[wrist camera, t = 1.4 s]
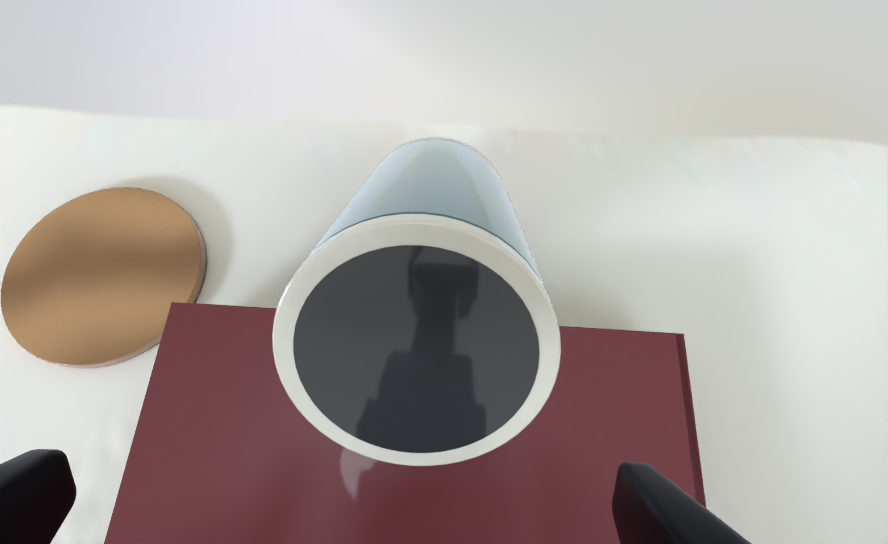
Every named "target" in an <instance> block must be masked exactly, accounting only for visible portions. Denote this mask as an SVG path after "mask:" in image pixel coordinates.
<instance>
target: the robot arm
mask: <svg viewBox="0 0 888 544" xmlns="http://www.w3.org/2000/svg"><path fill="white" fill-rule="evenodd" d="M75 498H76V486H75V483H74V479H73V476H72V472H71V469H70V466H69V462H68V459H67V456H66V455H65V454H64V453H63V452H62V451H60V450H47V449H37V450H31V451H28V452H26V453H24V454H22V455H20V456H17V457H15V458H13V459H11V460H9V461H6V462H4V463H2V464H0V544H50V543H51V541H52V539H53V538H54V536H55V534H56V533H57V531H58V529H59V528H60V526H61V524H62V523H63V521H64V519H65V518H66V516H67V515H68V513H69V511H70V510H71V508H72V506H73V504H74V501H75ZM612 513H613V518H614V521H615V525H616V529H617V533H618V537H619V540H620V544H751V543H750V542H748V541H747V540H746V539H745V538H743V537H742V536H741V535H739V534H738V533H737V532H736V531H734V530H733V529H732V528H730V527H729V526H728V525H727V524H725V523H724V522H723V521H722V520H720V519H719V518H718V517H716V516H715V515H714V514H713V513H711V512H710V511H709V510H707V509H706V508H705V507H704V506H702V505H701V504H700V503H698V502H697V501H696V500H695V499H693V498H692V497H691V496H689V495H688V494H687V493H686V492H684V491H683V490H682V489H680V488H679V487H678V486H677V485H675V484H674V483H673V482H671V481H670V480H669V479H668V478H666V477H665V476H664V475H662V474H661V473H660V472H659V471H657V470H656V469H655V468H654V467H652V466H651V465H649V464H648V463H645V462H623V463H621V464H620V466H619V468H618V472H617V477H616V482H615V487H614V492H613V497H612Z"/></svg>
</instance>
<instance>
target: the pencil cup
mask: <svg viewBox="0 0 888 544" xmlns="http://www.w3.org/2000/svg"><path fill="white" fill-rule="evenodd" d="M272 341H273V354H274V359H275V365H276V368H277V371H278V374H279V377H280V380H281V382H282V384H283V386H284V388H285V390H286V392H287V394H288V396H289V397H290V399H291V400H292V402H293V403H294V405H295V406H296V408H297V409H298V410H299V411H300V412H301V413H302V415H303V416H304V417H305V418H306V419H307V420H308V421H309V422H310V423H311V424H312V425H313V426H314V427H316V428H317V429H318V430H319V431H320V432H321V433H323V434H324V435H326V436H327V437H328V438H330V439H331V440H333V441H334V442H336V443H338V444H340V445H341V446H343V447H345V448H347V449H349V450H351V451H354V452H356V453H358V454H361V455H363V456H366V457H369V458H372V459H376V460H379V461H383V462H388V463H393V464H400V465H409V466H434V465H445V464H451V463H456V462H461V461H465V460H468V459H471V458H475V457H478V456H480V455H482V454H485V453H487V452H490V451H492V450H494V449H496V448H497V447H499V446H501V445H503V444H505V443H506V442H508V441H509V440H510V439H512V438H513V437H515V436H516V435H517V434H519V433H520V432H521V431H522V430H523V429H524V428H525V427H526V426H527V425H528V424H530V423H531V421H532V420H533V419H534V418H535V417H536V415H537V414H538V413H539V412H540V410H541V409H542V407H543V406H544V404H545V402H546V401H547V399H548V398H549V395H550V393H551V391H552V389H553V386H554V384H555V381H556V378H557V374H558V370H559V366H560V357H561V336H560V330H559V325H558V320H557V317H556V314H555V311H554V309H553V306H552V303H551V301H550V298H549V296H548V293H547V291H546V288H545V286H544V283H543V281H542V278H541V276H540V273H539V271H538V268H537V266H536V263H535V261H534V258H533V256H532V253H531V251H530V248H529V246H528V243H527V241H526V238H525V236H524V234H523V231H522V229H521V226H520V224H519V221H518V219H517V216H516V214H515V211H514V209H513V206H512V204H511V201H510V199H509V196H508V194H507V191H506V189H505V186H504V184H503V181H502V179H501V177H500V175H499V173H498V171H497V170H496V169H495V167H494V166H493V164H492V163H491V162H490V161H489V160H488V159H487V158H486V157H485V156H484V155H483V154H482V153H480V152H479V151H478V150H476V149H475V148H473V147H471V146H469V145H468V144H465V143H463V142H460V141H457V140H454V139H450V138H442V137H428V138H421V139H417V140H413V141H410V142H408V143H406V144H403V145H401V146H400V147H398V148H396V149H395V150H393V151H392V152H391V153H389V154H388V155H387V156H386V157H385V158H384V159H383V160H382V161H381V162H380V163H379V165H378V166H377V167H376V169H375V170H374V171H373V172H372V174H371V175H370V176H369V178H368V179H367V180H366V181H365V183H364V184H363V185H362V187H361V188H360V189H359V191H358V192H357V193H356V194H355V196H354V197H353V198H352V200H351V201H350V202H349V203H348V205H347V206H346V207H345V209H344V210H343V211H342V213H341V214H340V215H339V216H338V218H337V219H336V220H335V222H334V223H333V224H332V225H331V227H330V228H329V229H328V231H327V232H326V233H325V235H324V236H323V237H322V238H321V240H320V241H319V242H318V244H317V245H316V246H315V247H314V249H313V250H312V251H311V253H310V254H309V255H308V257H307V258H306V259H305V260H304V262H303V263H302V264H301V266H300V267H299V268H298V269H297V271H296V272H295V274H294V275H293V277H292V278H291V279H290V281H289V282H288V284H287V285H286V287H285V289H284V291H283V294H282V296H281V298H280V300H279V303H278V306H277V309H276V313H275V316H274V323H273V331H272Z"/></svg>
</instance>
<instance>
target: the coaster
mask: <svg viewBox="0 0 888 544" xmlns="http://www.w3.org/2000/svg"><path fill="white" fill-rule="evenodd" d="M205 268H206V252H205V245H204V241H203V238H202V235H201V233H200V231H199V229H198V227H197V225H196V223H195V222H194V221H193V219H192V218H191V217H190V216H189V215H188V214H187V213H186V212H185V211H184V210H183V209H182V208H181V207H180V206H179V205H178V204H176V203H175V202H174V201H172V200H171V199H169V198H167V197H165V196H163V195H161V194H158V193H155V192H153V191H149V190H144V189H139V188H128V187H126V188H111V189H103V190H99V191H95V192H91V193H88V194H85V195H83V196H80V197H77V198H75V199H73V200H71V201H69V202H67V203H65V204H63V205H62V206H60V207H58V208H56V209H55V210H54V211H52V212H51V213H49V214H48V215H47V216H45V217H44V218H43V219H42V220H41V221H39V222H38V223H37V224H36V225H35V226H34V227H33V228H32V229H31V230H30V231H29V232H28V233H27V234H26V236H25V237H24V238H23V240H22V241H21V242H20V244H19V245H18V246H17V248H16V250H15V251H14V253H13V255H12V256H11V259H10V261H9V263H8V265H7V268H6V271H5V274H4V277H3V282H2V288H1V307H2V314H3V317H4V320H5V323H6V326H7V327H8V329H9V331H10V333H11V335H12V336H13V337H14V338H15V340H16V341H17V342H18V343H19V344H20V345H21V346H22V347H23V348H24V349H25V350H27V351H28V352H29V353H31V354H33V355H34V356H36V357H38V358H40V359H43V360H45V361H48V362H51V363H55V364H59V365H64V366H68V367H77V368H94V367H102V366H107V365H112V364H115V363H119V362H122V361H125V360H128V359H130V358H132V357H135V356H137V355H139V354H141V353H143V352H145V351H146V350H148V349H150V348H151V347H153V346H154V345H156V344H157V343H159V342H160V341H161V338H162V334H163V331H164V327H165V324H166V320H167V316H168V313H169V309H170V306H171V302H180V303H194V302H195V300H196V299H197V296H198V294H199V292H200V289H201V286H202V283H203V279H204V275H205Z"/></svg>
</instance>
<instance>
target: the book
mask: <svg viewBox="0 0 888 544" xmlns="http://www.w3.org/2000/svg"><path fill="white" fill-rule="evenodd" d="M275 313H276V308H260V307H244V306H228V305H212V304H196V303H180V302H171V306H170V309H169V313H168V316H167V320H166V324H165V327H164V331H163V334H162V338H161V342H160V345H159V349H158V352H157V356H156V359H155V363H154V367H153V370H152V374H151V377H150V381H149V385H148V388H147V392H146V395H145V399H144V402H143V406H142V410H141V413H140V417H139V420H138V424H137V428H136V431H135V435H134V438H133V442H132V445H131V449H130V453H129V456H128V460H127V463H126V467H125V471H124V474H123V478H122V481H121V485H120V488H119V492H118V496H117V499H116V503H115V506H114V510H113V514H112V517H111V521H110V524H109V528H108V531H107V535H106V539H105V542H104V544H620V540H619V537H618V533H617V529H616V525H615V521H614V518H613V513H612V497H613V492H614V487H615V482H616V477H617V472H618V468H619V466H620V464H621V463H623V462H645V463H648V464H649V465H651V466H652V467H654V468H655V469H656V470H657V471H659V472H660V473H661V474H662V475H664V476H665V477H666V478H668V479H669V480H670V481H671V482H673V483H674V484H675V485H677V486H678V487H679V488H680V489H682V490H683V491H684V492H686V493H687V494H688V495H689V496H691V497H692V498H693V499H695V500H696V501H697V502H698V503H700V504H701V505H702V506H704V507H705V508H706V502H705V495H704V487H703V479H702V472H701V464H700V456H699V448H698V441H697V433H696V425H695V417H694V410H693V402H692V394H691V386H690V379H689V371H688V363H687V356H686V348H685V340H684V334H677V333H661V332H645V331H629V330H613V329H597V328H581V327H565V326H559V330H560V336H561V357H560V366H559V370H558V374H557V378H556V381H555V384H554V386H553V389H552V391H551V393H550V395H549V398H548V399H547V401H546V402H545V404H544V406H543V407H542V409H541V410H540V412H539V413H538V414H537V415H536V417H535V418H534V419H533V420H532V421H531V423H530V424H528V425H527V426H526V427H525V428H524V429H523V430H522V431H521V432H520V433H519V434H517V435H516V436H515V437H513V438H512V439H510V440H509V441H508V442H506V443H505V444H503V445H501V446H499V447H497V448H496V449H494V450H492V451H490V452H487V453H485V454H482V455H480V456H478V457H475V458H471V459H468V460H465V461H461V462H456V463H451V464H445V465H434V466H409V465H400V464H393V463H388V462H383V461H379V460H376V459H372V458H369V457H366V456H363V455H361V454H358V453H356V452H354V451H351V450H349V449H347V448H345V447H343V446H341V445H340V444H338V443H336V442H334V441H333V440H331V439H330V438H328V437H327V436H326V435H324V434H323V433H321V432H320V431H319V430H318V429H317V428H316V427H314V426H313V425H312V424H311V423H310V422H309V421H308V420H307V419H306V418H305V417H304V416H303V415H302V413H301V412H300V411H299V410H298V409H297V408H296V406H295V405H294V403H293V402H292V400H291V399H290V397H289V396H288V394H287V392H286V390H285V388H284V386H283V384H282V382H281V380H280V377H279V374H278V371H277V368H276V365H275V359H274V354H273V341H272V331H273V323H274V316H275Z"/></svg>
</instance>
